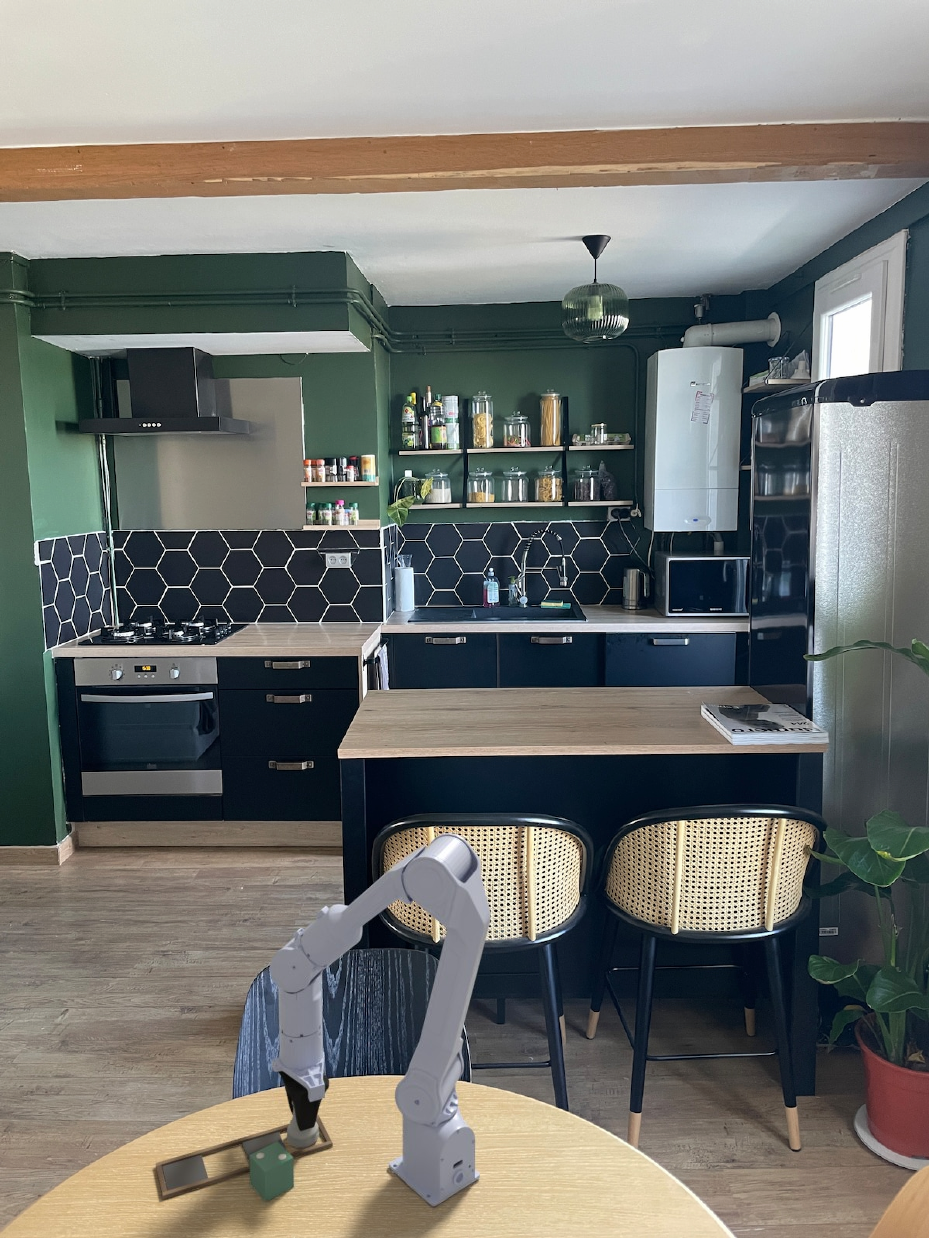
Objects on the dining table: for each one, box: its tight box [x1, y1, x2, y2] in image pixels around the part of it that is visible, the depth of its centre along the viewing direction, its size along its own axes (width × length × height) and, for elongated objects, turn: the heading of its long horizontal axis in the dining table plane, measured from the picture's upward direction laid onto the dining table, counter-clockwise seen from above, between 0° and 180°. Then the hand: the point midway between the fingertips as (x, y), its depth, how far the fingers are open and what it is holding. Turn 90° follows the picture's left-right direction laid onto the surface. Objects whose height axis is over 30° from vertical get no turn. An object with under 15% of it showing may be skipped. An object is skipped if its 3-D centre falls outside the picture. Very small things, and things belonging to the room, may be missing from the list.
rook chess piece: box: [286, 1101, 320, 1150], centre depth 124 cm, size 4×4×8 cm
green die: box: [249, 1141, 295, 1203], centre depth 116 cm, size 4×4×4 cm
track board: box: [155, 1114, 334, 1200], centre depth 122 cm, size 22×6×1 cm, turn 116°
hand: (302, 1119), depth 125 cm, fingers closed on rook chess piece, 3 cm apart
